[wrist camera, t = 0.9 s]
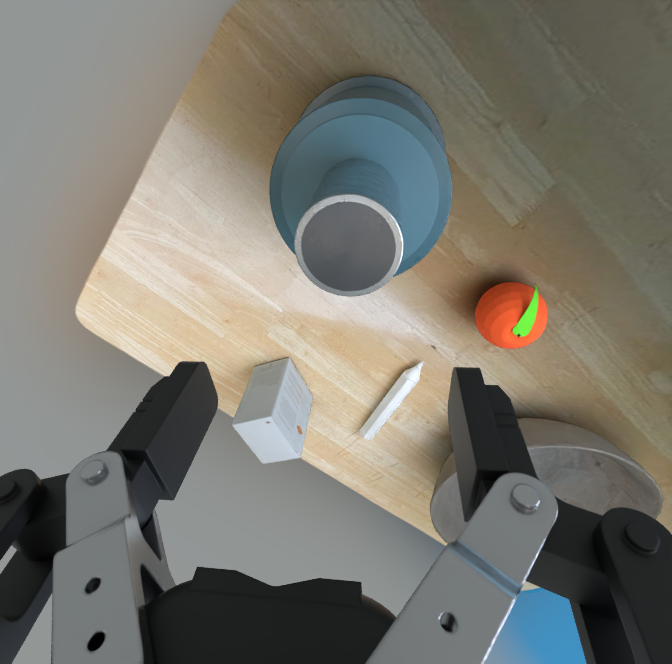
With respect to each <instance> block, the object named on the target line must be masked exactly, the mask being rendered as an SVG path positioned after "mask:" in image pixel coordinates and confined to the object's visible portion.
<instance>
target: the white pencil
mask: <svg viewBox="0 0 672 664" xmlns="http://www.w3.org/2000/svg"><path fill="white" fill-rule="evenodd" d="M422 364H423V361H422V362H420V363H419V364H417V365H416V366H415V367H412V368H410V369H406V370H405V371H404V372H403V373H402V375H401V376H400V377H399V379H398V380H397V381H396V383H395V384H394V385H393V387H392V388H391V389H390V391H389V392H388V393H387V395H386V396H385V397H384V399H383V400H382V401H381V403H380V404H379V405H378V407H377V408H376V409H375V411H374V412H373V413H372V415H371V416H370V417H369V419H368V420H367V421H366V423H365V424H364V425H363V427H362V428H361V429H360V433H361V435H362V437H363V438H365V439H367V440H371V439H372V438H373V437H374V436H375V435H376V433H377V432H378V431H379V430H380V428H381V427H382V426H383V425H384V423H385V422H386V421H387V420H388V418H389V417H390V416H391V415H392V413H393V412H394V411H395V410H396V408H397V407H398V406H399V405H400V404H401V402H402V401H403V400H404V399H405V397H406V396H407V395H408V394H409V392H410V391H411V390H412V389H413V387H414V386H415V385H416V384H417V382H418V381H419V380H420V378H419V375H420V370H421V367H422Z"/></svg>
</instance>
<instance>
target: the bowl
mask: <svg viewBox="0 0 672 664" xmlns="http://www.w3.org/2000/svg"><path fill="white" fill-rule="evenodd" d="M517 420H518V423H519V428H520V429H521V432H522V435H523V438H524V440H525V443H526V446H527V449H528V452H529V455H530V458H531V460H532V463H533V466H534V469H535V472H536V474H537V477H538V478H539V480H540V481H541V482H542V483H544V484H545V485H546V486H547V487H548V488H549V489H550V490H551V492H552V493H553V494H554V496H556V497H557V498H559V499H560V500H562V501H564V502H566V503H568V504H571V505H573V506H576V507H579V508H582V509H585V510H588V511H591V512H594V513H597V514H600V515H604V514H605V513H606V512H607V511H608V510H610V509H613V508H618V507H625V508H631V509H635V510H638V511H640V512H643V513H645V514H647V515H649V516H650V517H652V518H654V519H656V518H657V516H658V515H659V514H660V512H661V508H662V504H663V495H662V492H661V490H660V488H659V486H658V484H657V483H656V481H655V480H654V478H653V477H652V476H651V475H650V474H649V473H648V472H647V471H646V470H645V469H643V468H642V467H641V466H640V465H639V464H638V463H637V462H635V461H634V460H633V459H632V458H631V457H629V456H628V455H627V454H625V453H624V452H623V451H621V450H620V449H619V448H617V447H616V446H615V445H613V444H612V443H610V442H609V441H607V440H605V439H604V438H602V437H600V436H599V435H597V434H595V433H593V432H590V431H588V430H586V429H583V428H581V427H578V426H575V425H572V424H568V423H564V422H559V421H554V420H549V419H539V418H517ZM430 514H431V520H432V523H433V525H434V528H435V530H436V531H437V533H438V534H439V535H440V536H441V538H442V539H443V540H444V541H445V542H447V543H450V542H451V541H453V542H454V541H455V540H456V539H457V538H458V536H459V535H460V534H461V532H462V531H463V529H464V528H465V526H466V525H467V523H468V522H464V515H463V509H462V503H461V497H460V490H459V484H458V478H457V472H456V466H455V459H454V453H453V452H452V453H451V454H450V455H449V457H448V458H447V460H446V462H445V463H444V465H443V467H442V469H441V471H440V473H439V476H438V479H437V481H436V484H435V488H434V491H433V495H432V499H431V503H430Z"/></svg>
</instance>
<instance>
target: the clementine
mask: <svg viewBox="0 0 672 664" xmlns="http://www.w3.org/2000/svg"><path fill="white" fill-rule="evenodd" d="M547 318H548V311H547V306H546V303H545V301H544V299H543V298H542V296H541V295H540V294H539V293H538V290H537V286H536V283H535V290H534V289H533V288H532V287H530V286H528V285H525V284H522V283H516V282H507V283H502V284H499V285H496V286H494V287H492V288H490V289H489V290H488V291H487V292H485V293H484V294H483V296H482V297H481V299H480V300H479V302H478V304H477V307H476V310H475V322H476V325H477V328H478V330H479V332H480V333H481V335H482V336H483V337H484V338H485V339H486V340H487V341H489V342H490V343H492V344H493V345H495V346H498V347H501V348H509V349H512V348H520V347H524V346H526V345H528V344H531V343H532V342H533V341H535V340H536V339H537V338H538V337H539V336H540V335H541V334H542V332H543V331H544V329H545V327H546V324H547Z"/></svg>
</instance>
